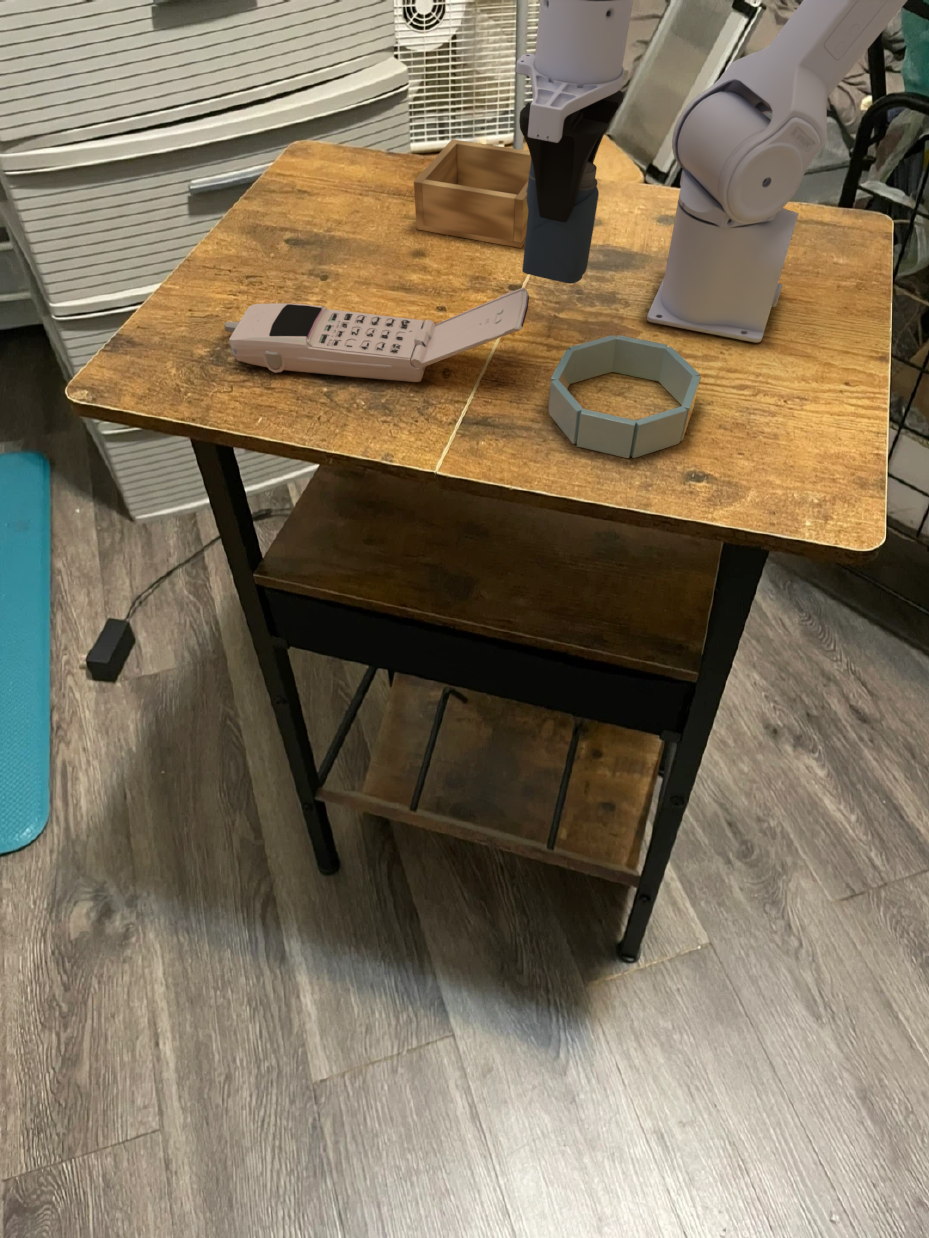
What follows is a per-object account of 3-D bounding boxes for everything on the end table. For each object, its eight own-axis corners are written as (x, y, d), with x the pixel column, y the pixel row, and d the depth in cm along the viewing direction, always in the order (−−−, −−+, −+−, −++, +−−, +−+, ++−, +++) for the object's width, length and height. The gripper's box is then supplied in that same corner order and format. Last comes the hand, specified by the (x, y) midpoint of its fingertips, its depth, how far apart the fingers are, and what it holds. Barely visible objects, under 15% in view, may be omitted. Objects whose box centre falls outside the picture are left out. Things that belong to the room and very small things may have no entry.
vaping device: (525, 257, 68) (542, 90, 59) (589, 272, 67) (616, 103, 58) (514, 273, 67) (530, 103, 57) (580, 288, 66) (607, 117, 56)
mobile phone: (522, 330, 62) (189, 300, 64) (518, 399, 66) (207, 368, 69) (532, 286, 65) (216, 260, 68) (528, 354, 70) (232, 327, 73)
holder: (552, 202, 86) (555, 154, 82) (521, 248, 80) (523, 199, 77) (453, 185, 88) (451, 139, 85) (416, 229, 83) (413, 181, 79)
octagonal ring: (701, 386, 67) (709, 352, 64) (672, 469, 61) (680, 435, 59) (574, 359, 69) (577, 326, 67) (534, 437, 63) (537, 403, 61)
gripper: (558, -52, 58) (536, 160, 68) (487, 10, 49) (475, 241, 60) (661, -36, 57) (623, 177, 67) (607, 29, 48) (573, 263, 58)
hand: (559, 209), depth 63 cm, fingers closed on vaping device, 2 cm apart
